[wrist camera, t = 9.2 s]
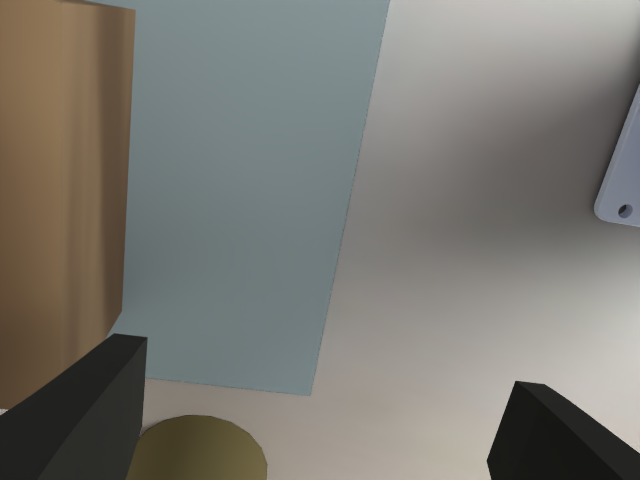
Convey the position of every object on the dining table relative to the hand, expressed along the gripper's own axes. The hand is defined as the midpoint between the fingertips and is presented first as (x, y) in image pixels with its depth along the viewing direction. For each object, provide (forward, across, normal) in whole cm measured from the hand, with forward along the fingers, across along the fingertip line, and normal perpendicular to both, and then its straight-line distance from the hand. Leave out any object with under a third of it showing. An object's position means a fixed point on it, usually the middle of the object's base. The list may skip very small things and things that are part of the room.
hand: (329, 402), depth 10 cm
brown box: (+9, +8, -1) cm, 12 cm away
